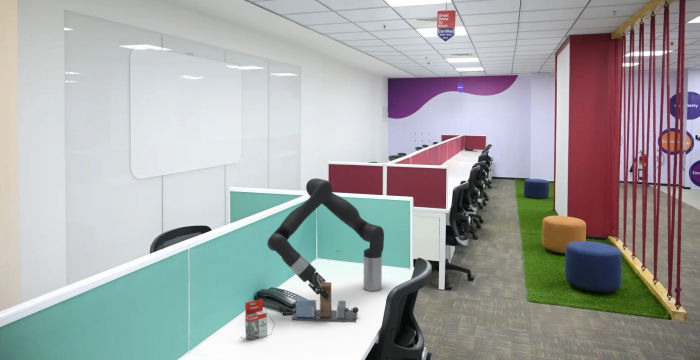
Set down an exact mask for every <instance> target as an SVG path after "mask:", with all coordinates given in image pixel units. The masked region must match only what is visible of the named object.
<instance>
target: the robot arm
mask: <svg viewBox="0 0 700 360" xmlns="http://www.w3.org/2000/svg"><path fill="white" fill-rule="evenodd" d="M305 189H306V193H307V194H308V196H309V198H308V199H307V200H306V201H304V202H303V203H302V204H300V205H299V206H298V207H296V208H295V209H294V210H292V211H291V212H290V213H289V214H288V215H287V216H286V217H285V219H284V220H283V221H282V222H281V224H280V225H279V226H278V228H277V229H276V230H275V231H274V232H273V233H272V234H271V235H270V237H269V238H268V239H267V247H268V248H269V250H271V251H272V252H274V251H275V252H276V253H277V254H278V255H279V256H280V258H281V259H282V261H283V262H284V263H285V264H286V265H287V266H288V267H289V268H290V269H291V271H292V272H293V273H294V274H295V275H296V276H297V277H298V278H299V279H300V280H301V281H302V282H303V283H306V282H309V284H308V283H307V284H308V286H309V288H310V289H311V290H312V291H313V292H314V293H315V294H316V295H319V296H320V295H321V296H322V297H323V298H324V299H326V300H327V299H328V298H329V295H328V294H327V293H326V292H325V291H324V290H323V288H322V285H321V282H327V281H326V279H325V278H324V277H323V276H322V275H321V274H320V273H319V272H317V269H316V268H315V267H314V266H313V265H312V264H311V263H310V262H309V261H308V260H307V259H306V258H304V257H303V256H302V255H301V254H300V253H299V252H298V251H297V250H296V249H295V248H294V247H293V246H292V244H291V243H290V242H289V239H290V238H291V236H292V235H294V233H295V232H297V230H298V229H299V228H300V227H301V225H302V224H303V223H304V222H305V221H306V219H307V218H308V217H309V216H310V215H311V214H312V213H313V212H314V211H315V210H316V209H318V208H319V207H320V206H321V205H322V206H324V207H326V208H327V210H328V211H330V212H331V213H332V214H333V215H334V216H335V217H336V218H338V219H339V220H340V221H341V222H342V223H344V224H345V225H346V226H348V227H349V228H350V229H352V230H353V231H354V232H355V233H356V234H357V235H358V236H359V237H360V238H361V239H362V240H363V241H364V242H367V243H369V248H365V249H364V250H363V290H366V291H368V292H369V291H370V292H378V291H380V290H382V273H383V272H382V267H383V265H382V264H383V261H382V259H383V257H382V255H383V251H384V245H385V244H384V242H385V231H384V229H383V227H382V226H380V225H376V224H373V223H369V222H368V221H366V220H365V219H363V218H362V216H361V215H360V212H359V210H358V208H356V206H354V205H353V204H352V203H351V202H349V201H348V200H347V199H345V198H343V197H341V196H339V195H337V194H336V193H333V185H332V182H330V181H328V180H326V179H323V178H311V179H309V180H308V181H307V183H306V186H305ZM331 291H332V288H331Z"/></svg>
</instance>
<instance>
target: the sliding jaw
mask: <svg viewBox="0 0 700 360" xmlns="http://www.w3.org/2000/svg"><path fill="white" fill-rule="evenodd" d="M295 310H296V316H297V317H314V315H315V312H316V310H317V300H316V299H299V300H298V302H297V304H296V309H295Z"/></svg>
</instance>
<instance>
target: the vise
mask: <svg viewBox="0 0 700 360" xmlns="http://www.w3.org/2000/svg"><path fill="white" fill-rule="evenodd" d="M358 313H359V308H358V307H357V306H354V307H347V301H346V300H338V301H337V304H336V309H335V310H333V309H331V316H330V317H322V316H318V317H317V316H314V317H297V316H296V313H294V312H293V314H292V316H291V321H300V322H301V321H304V322H334V323H337V322H338V323H357V318H358ZM315 314H320V309H316V312H315Z"/></svg>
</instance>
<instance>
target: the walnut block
mask: <svg viewBox="0 0 700 360" xmlns="http://www.w3.org/2000/svg"><path fill="white" fill-rule="evenodd" d="M321 285H322V288H323V290H324V291H325V292H326V293H327V294H328V295H329V298H328V299H327V300H326V299H324V298H323V297H322V296H321V295H320V294H319V310H320V316H322V317H330V316H331V310H332V290H331V289H332V282H331V281H330V282H327V281H325V282H321Z"/></svg>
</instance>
